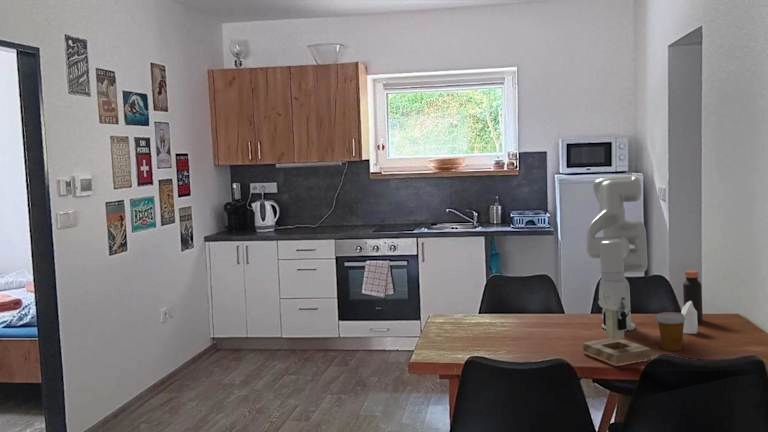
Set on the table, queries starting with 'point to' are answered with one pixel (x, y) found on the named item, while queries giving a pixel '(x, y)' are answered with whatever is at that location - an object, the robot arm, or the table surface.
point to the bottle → (693, 292)
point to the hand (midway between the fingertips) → (615, 327)
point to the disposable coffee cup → (671, 330)
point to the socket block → (617, 350)
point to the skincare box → (613, 324)
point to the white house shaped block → (689, 318)
